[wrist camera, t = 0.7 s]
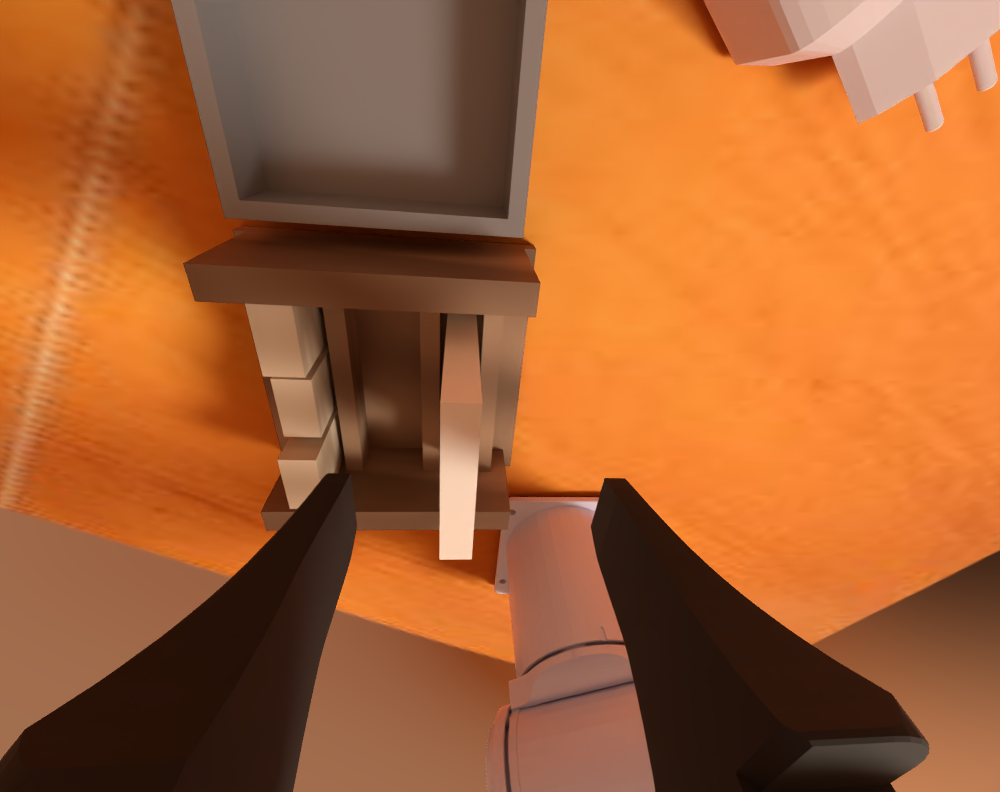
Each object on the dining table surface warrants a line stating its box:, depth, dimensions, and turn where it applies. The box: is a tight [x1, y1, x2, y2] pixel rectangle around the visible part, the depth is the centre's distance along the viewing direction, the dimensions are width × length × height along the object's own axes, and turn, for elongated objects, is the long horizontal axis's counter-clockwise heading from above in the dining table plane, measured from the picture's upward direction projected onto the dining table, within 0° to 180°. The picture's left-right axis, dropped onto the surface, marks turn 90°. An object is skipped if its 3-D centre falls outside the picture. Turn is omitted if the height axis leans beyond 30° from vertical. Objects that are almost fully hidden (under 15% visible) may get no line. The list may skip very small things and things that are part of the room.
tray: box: [171, 0, 548, 238], centre depth 14 cm, size 10×10×3 cm
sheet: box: [439, 313, 482, 560], centre depth 18 cm, size 7×1×8 cm, turn 175°
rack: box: [183, 226, 540, 531], centre depth 19 cm, size 12×12×5 cm
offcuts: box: [245, 304, 344, 509], centre depth 18 cm, size 9×2×4 cm, turn 175°
